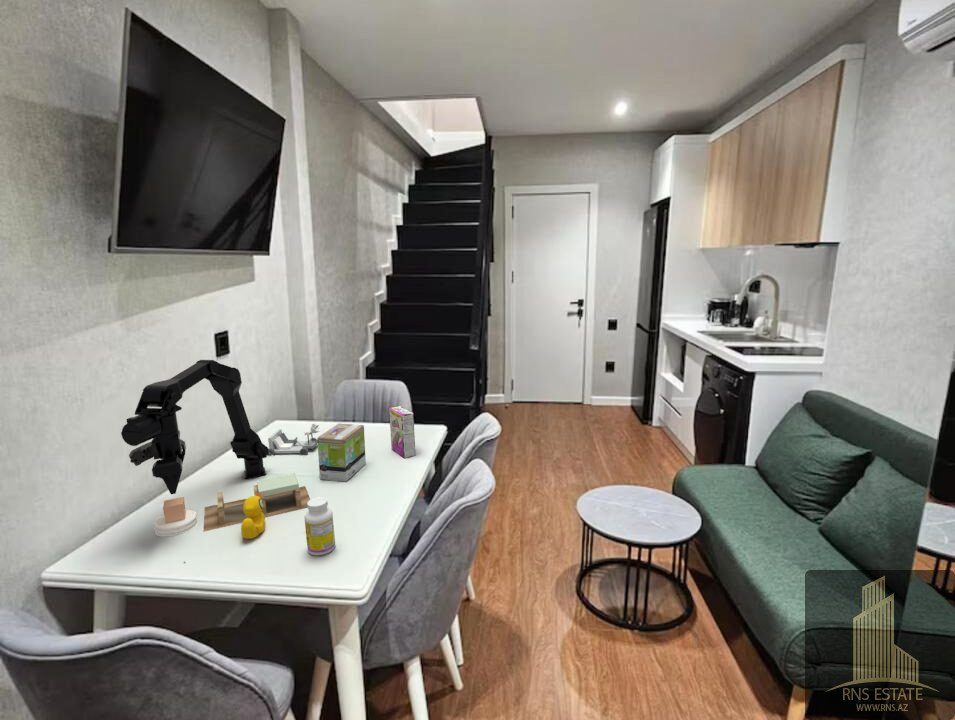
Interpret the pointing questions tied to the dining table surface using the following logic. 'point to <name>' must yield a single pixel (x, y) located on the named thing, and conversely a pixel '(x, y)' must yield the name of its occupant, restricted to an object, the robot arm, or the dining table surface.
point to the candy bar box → (402, 431)
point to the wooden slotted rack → (271, 506)
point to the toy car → (291, 443)
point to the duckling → (253, 517)
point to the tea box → (341, 452)
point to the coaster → (175, 525)
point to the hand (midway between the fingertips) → (174, 486)
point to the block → (174, 510)
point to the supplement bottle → (319, 527)
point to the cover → (277, 484)
